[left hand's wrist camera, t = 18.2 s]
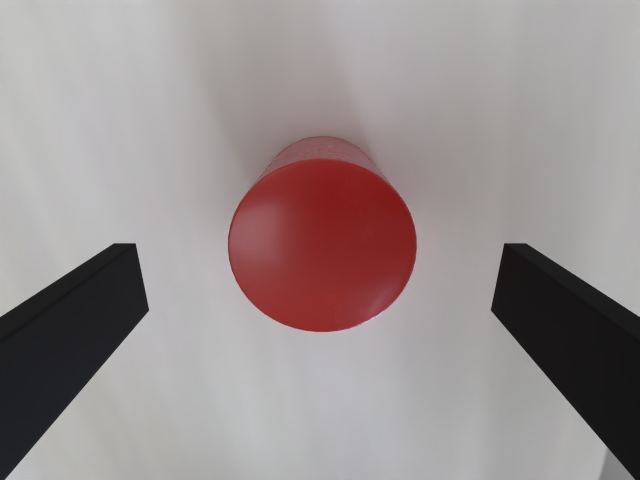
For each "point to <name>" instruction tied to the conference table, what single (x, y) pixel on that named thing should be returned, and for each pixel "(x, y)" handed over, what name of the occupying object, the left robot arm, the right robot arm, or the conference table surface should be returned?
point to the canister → (322, 238)
